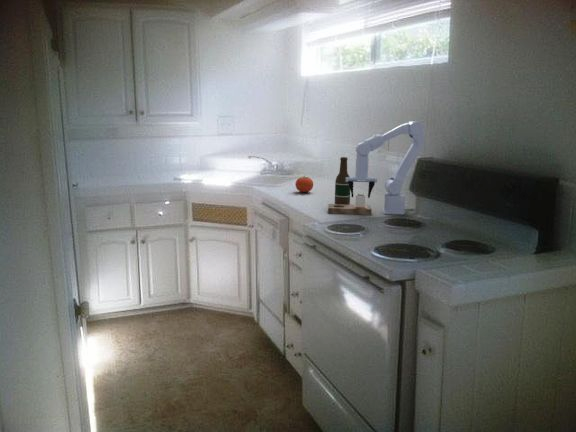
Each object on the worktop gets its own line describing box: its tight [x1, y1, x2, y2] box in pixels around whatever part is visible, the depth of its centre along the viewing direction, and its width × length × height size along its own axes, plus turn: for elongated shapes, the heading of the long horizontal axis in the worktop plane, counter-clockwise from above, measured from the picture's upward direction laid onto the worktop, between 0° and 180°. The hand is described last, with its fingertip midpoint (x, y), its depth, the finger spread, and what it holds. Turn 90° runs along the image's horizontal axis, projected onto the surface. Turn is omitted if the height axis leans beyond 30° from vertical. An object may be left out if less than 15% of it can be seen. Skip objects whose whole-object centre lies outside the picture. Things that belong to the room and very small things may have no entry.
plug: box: [355, 192, 366, 207], centre depth 246 cm, size 4×4×6 cm
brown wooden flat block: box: [327, 203, 373, 216], centre depth 248 cm, size 20×10×3 cm, turn 85°
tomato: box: [295, 175, 314, 193], centre depth 298 cm, size 10×10×10 cm
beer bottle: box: [334, 156, 351, 205], centre depth 263 cm, size 8×8×24 cm
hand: (360, 197), depth 246 cm, fingers open, 7 cm apart
